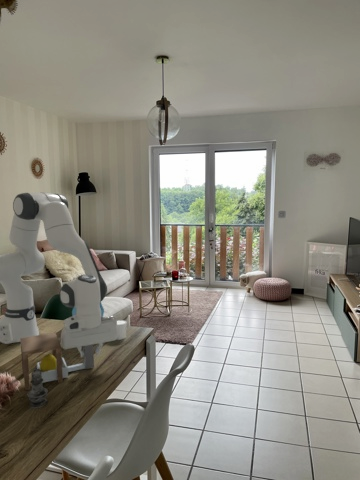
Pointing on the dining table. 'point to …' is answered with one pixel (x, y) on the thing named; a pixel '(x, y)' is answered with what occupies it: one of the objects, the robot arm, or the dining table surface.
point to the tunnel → (36, 346)
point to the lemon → (48, 363)
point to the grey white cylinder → (121, 329)
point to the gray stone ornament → (37, 390)
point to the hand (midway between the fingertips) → (90, 355)
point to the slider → (87, 364)
